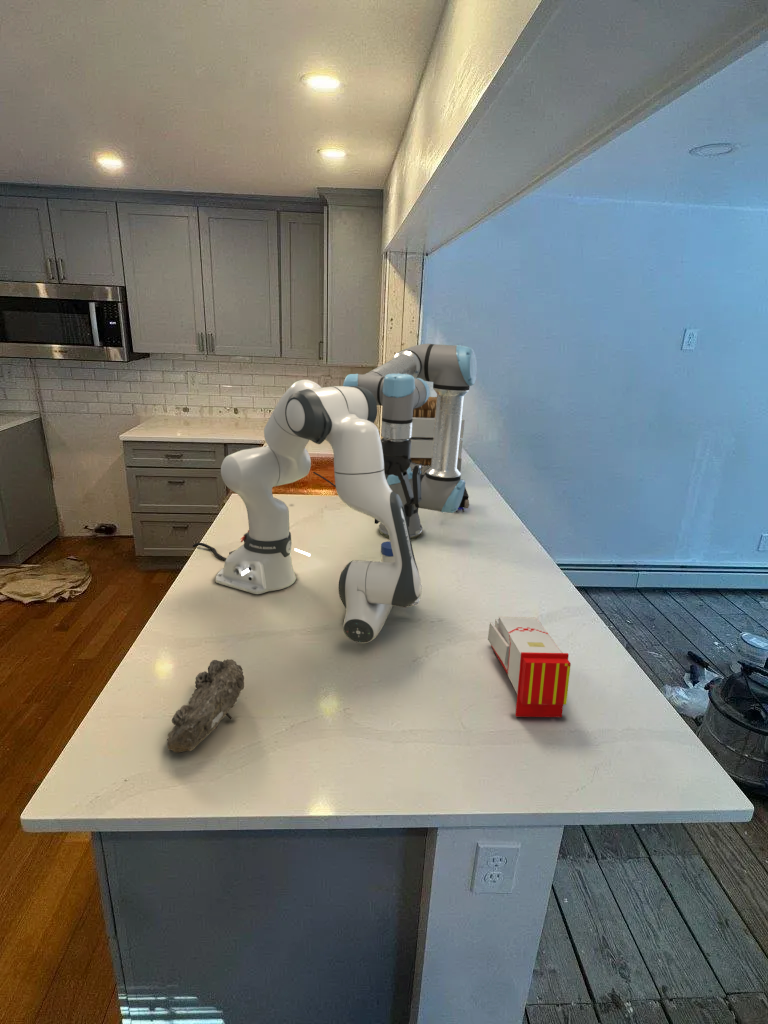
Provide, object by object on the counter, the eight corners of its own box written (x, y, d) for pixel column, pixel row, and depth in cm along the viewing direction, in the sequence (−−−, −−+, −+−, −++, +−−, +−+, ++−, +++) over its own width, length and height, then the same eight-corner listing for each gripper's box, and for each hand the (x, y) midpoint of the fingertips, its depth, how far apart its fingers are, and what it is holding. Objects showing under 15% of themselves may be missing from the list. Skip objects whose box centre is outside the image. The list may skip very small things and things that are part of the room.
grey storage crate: (382, 463, 289) (386, 382, 275) (445, 464, 293) (451, 384, 279) (390, 482, 257) (394, 392, 243) (460, 483, 261) (468, 394, 247)
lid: (392, 547, 154) (393, 539, 153) (403, 553, 150) (404, 546, 149) (377, 550, 151) (377, 543, 150) (387, 557, 147) (388, 550, 146)
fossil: (192, 660, 117) (244, 628, 112) (224, 691, 120) (276, 661, 115) (142, 746, 98) (202, 712, 93) (182, 779, 101) (242, 748, 96)
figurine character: (469, 517, 223) (463, 501, 236) (471, 500, 219) (465, 484, 233) (452, 516, 222) (447, 500, 236) (454, 499, 219) (449, 483, 232)
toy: (534, 602, 136) (579, 659, 107) (529, 653, 139) (572, 723, 110) (484, 601, 136) (516, 658, 107) (480, 652, 139) (510, 722, 109)
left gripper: (418, 594, 137) (428, 570, 150) (337, 582, 142) (354, 560, 154) (416, 617, 139) (426, 592, 152) (337, 604, 144) (353, 580, 157)
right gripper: (439, 440, 140) (433, 527, 147) (366, 430, 147) (363, 513, 155) (429, 446, 133) (423, 536, 141) (353, 436, 141) (350, 522, 148)
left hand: (389, 575), depth 153 cm, fingers open, 8 cm apart
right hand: (391, 524), depth 148 cm, fingers open, 7 cm apart
